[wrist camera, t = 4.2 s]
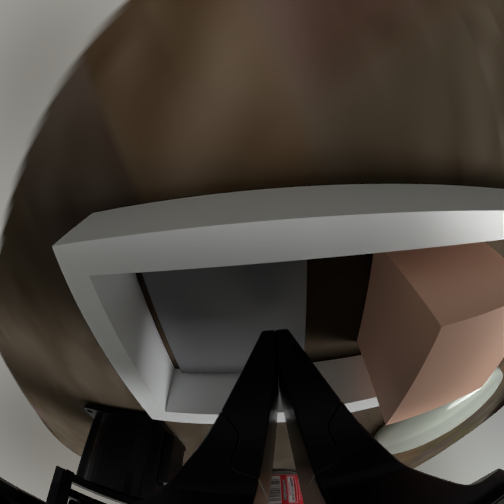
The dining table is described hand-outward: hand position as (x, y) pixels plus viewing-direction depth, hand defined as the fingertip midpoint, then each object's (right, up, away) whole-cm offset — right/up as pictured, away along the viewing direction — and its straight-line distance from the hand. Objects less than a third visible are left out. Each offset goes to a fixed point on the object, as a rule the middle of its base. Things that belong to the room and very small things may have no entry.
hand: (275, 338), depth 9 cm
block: (+6, +1, +1) cm, 6 cm away
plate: (+17, -12, +8) cm, 22 cm away
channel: (+5, +1, +1) cm, 5 cm away
